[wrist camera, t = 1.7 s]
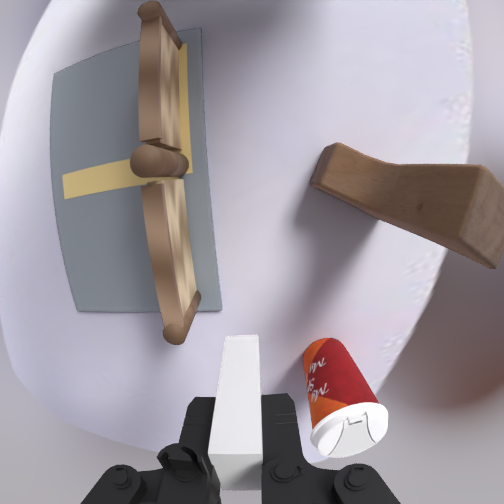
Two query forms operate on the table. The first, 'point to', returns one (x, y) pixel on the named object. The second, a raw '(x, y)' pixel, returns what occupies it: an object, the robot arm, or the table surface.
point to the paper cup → (340, 402)
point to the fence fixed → (158, 98)
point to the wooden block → (421, 199)
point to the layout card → (123, 180)
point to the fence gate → (171, 256)
